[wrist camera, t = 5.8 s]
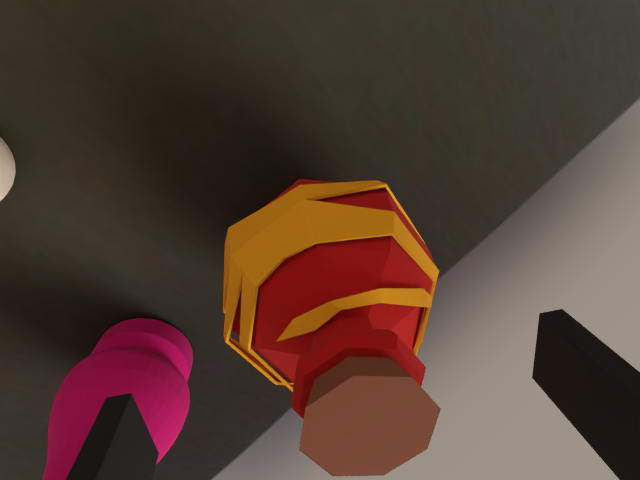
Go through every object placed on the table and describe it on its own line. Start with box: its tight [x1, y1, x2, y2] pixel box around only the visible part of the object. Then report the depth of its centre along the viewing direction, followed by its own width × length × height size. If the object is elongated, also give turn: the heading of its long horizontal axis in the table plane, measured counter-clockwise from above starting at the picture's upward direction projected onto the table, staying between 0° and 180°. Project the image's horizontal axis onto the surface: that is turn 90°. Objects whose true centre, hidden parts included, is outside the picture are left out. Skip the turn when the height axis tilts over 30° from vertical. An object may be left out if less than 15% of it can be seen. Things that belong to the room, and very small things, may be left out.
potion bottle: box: [223, 179, 440, 476], centre depth 18 cm, size 10×10×15 cm
